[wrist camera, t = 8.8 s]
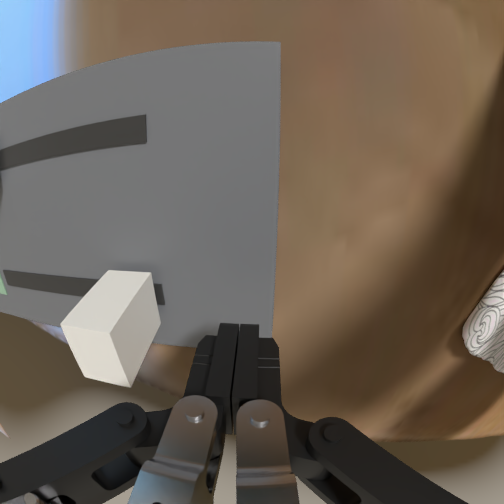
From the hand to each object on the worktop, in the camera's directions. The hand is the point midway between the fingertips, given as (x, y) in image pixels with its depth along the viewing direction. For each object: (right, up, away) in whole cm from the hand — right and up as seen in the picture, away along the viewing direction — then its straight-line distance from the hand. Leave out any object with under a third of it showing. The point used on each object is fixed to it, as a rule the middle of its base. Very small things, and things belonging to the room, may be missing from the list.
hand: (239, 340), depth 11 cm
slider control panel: (-10, +6, +4) cm, 13 cm away
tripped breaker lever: (-5, +1, +3) cm, 6 cm away
